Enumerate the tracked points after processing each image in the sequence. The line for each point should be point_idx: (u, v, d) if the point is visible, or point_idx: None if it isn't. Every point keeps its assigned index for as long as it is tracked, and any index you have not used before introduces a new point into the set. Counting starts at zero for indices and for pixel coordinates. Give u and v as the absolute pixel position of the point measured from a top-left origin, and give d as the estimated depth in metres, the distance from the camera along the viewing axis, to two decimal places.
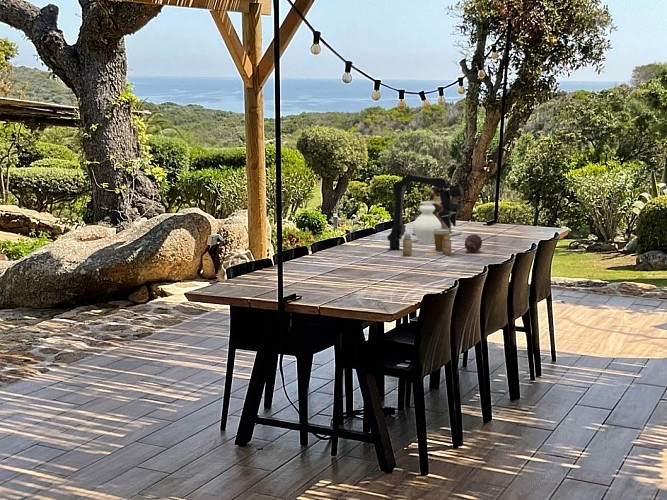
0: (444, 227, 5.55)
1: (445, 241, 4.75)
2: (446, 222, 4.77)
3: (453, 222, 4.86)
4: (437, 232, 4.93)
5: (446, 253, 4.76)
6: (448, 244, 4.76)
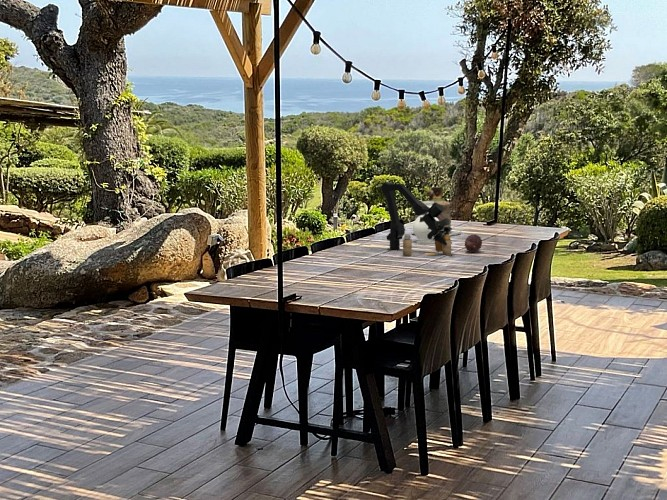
0: None
1: None
2: (441, 241, 4.75)
3: None
4: None
5: (446, 253, 4.76)
6: (448, 244, 4.76)
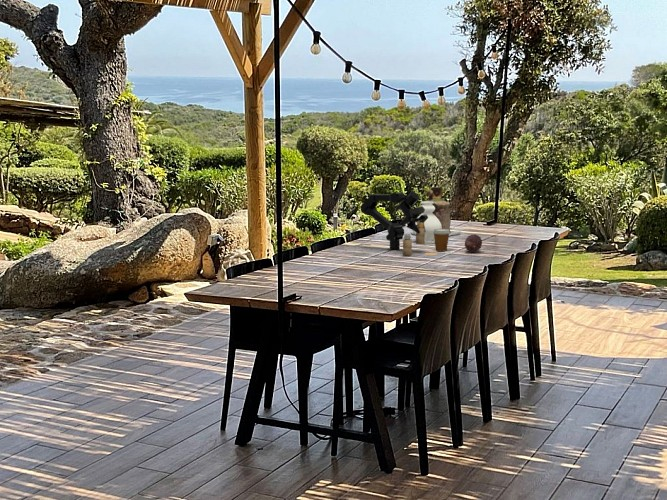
0: (443, 227, 5.55)
1: None
2: (414, 228, 4.82)
3: None
4: (437, 232, 4.93)
5: (419, 241, 4.83)
6: (421, 232, 4.82)
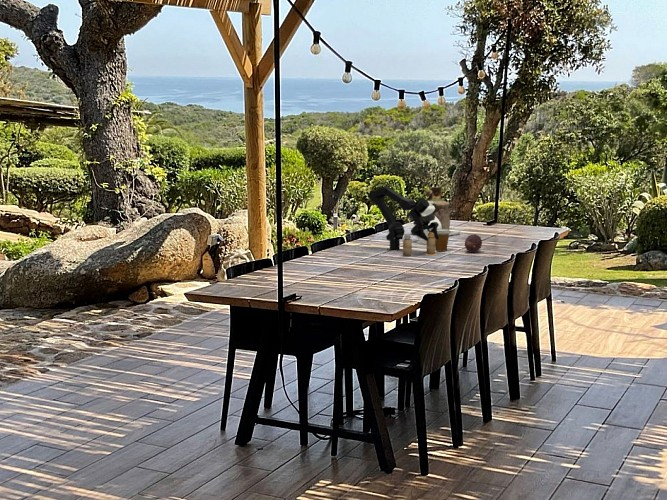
0: (442, 227, 5.55)
1: (429, 239, 4.77)
2: (422, 236, 4.76)
3: (435, 236, 4.82)
4: (437, 232, 4.93)
5: (430, 251, 4.78)
6: (432, 242, 4.77)
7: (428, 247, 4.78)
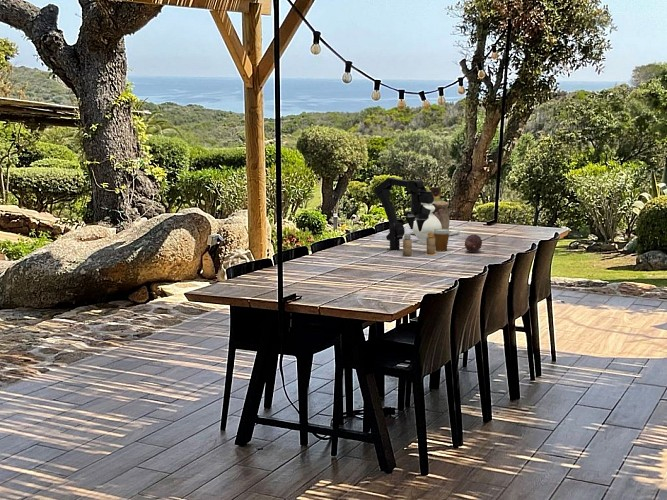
0: (442, 227, 5.55)
1: (429, 239, 4.77)
2: (420, 225, 4.81)
3: (411, 225, 4.91)
4: (437, 232, 4.93)
5: (430, 251, 4.78)
6: (432, 242, 4.77)
7: (428, 247, 4.78)
